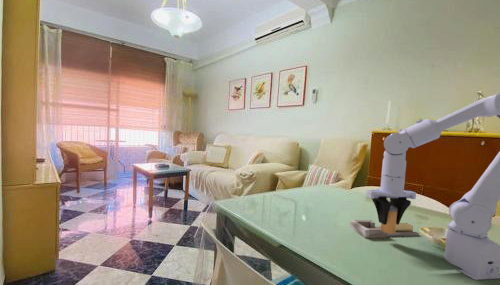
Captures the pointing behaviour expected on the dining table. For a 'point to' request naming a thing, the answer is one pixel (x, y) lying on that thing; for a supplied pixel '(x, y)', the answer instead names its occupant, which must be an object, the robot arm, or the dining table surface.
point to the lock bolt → (404, 227)
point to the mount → (375, 230)
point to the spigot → (390, 221)
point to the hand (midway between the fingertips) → (388, 223)
